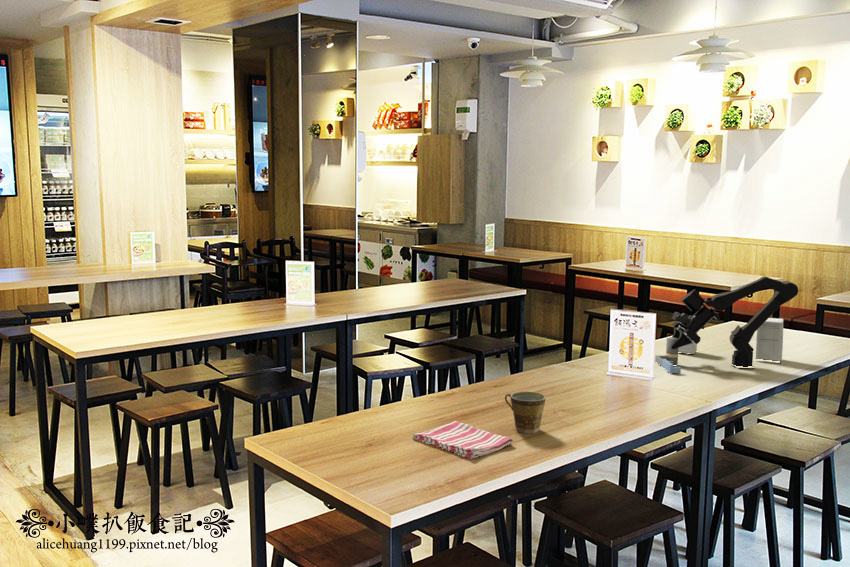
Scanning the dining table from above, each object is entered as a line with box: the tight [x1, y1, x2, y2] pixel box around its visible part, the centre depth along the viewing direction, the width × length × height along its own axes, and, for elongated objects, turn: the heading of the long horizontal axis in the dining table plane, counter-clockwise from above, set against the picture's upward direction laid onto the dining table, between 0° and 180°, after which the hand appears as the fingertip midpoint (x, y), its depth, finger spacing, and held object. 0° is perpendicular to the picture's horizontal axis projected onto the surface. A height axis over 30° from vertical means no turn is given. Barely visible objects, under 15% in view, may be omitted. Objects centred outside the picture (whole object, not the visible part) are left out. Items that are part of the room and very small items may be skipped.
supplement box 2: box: [755, 317, 784, 362], centre depth 305 cm, size 10×9×17 cm
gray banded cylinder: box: [665, 336, 679, 366], centre depth 298 cm, size 5×5×10 cm
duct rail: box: [654, 354, 682, 374], centre depth 294 cm, size 4×20×4 cm, turn 178°
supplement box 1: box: [678, 322, 698, 354], centre depth 319 cm, size 7×7×13 cm
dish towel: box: [412, 420, 514, 460], centre depth 209 cm, size 17×23×4 cm
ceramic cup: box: [504, 391, 546, 434], centre depth 220 cm, size 13×10×10 cm
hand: (670, 347), depth 298 cm, fingers open, 5 cm apart
